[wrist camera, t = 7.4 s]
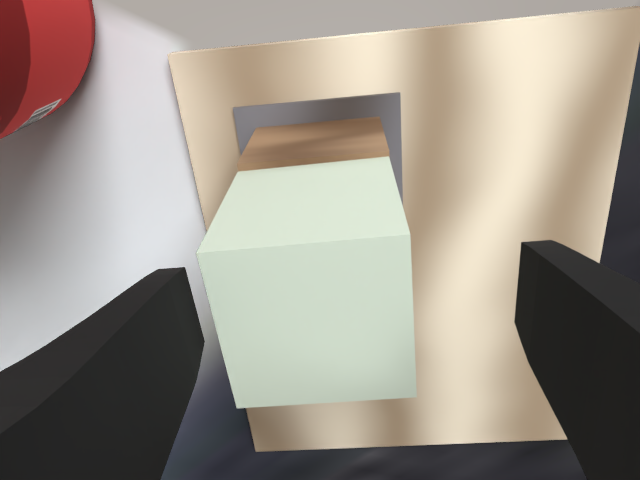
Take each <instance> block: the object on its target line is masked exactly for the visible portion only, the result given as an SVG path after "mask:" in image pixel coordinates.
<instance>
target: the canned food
mask: <svg viewBox="0 0 640 480" xmlns="http://www.w3.org/2000/svg"><path fill="white" fill-rule="evenodd" d="M94 39H95V16H94V10H93V4H92V0H0V139H1V138H3V137H5V136H7V135H9V134H11V133H13V132H15V131H17V130H19V129H21V128H23V127H25V126H27V125H29V124H31V123H33V122H35V121H37V120H39V119H41V118H43V117H45V116H47V115H49V114H51V113H53V112H54V111H55V110H56V109H58V108H59V107H60V106H61V105H62V104H64V103H65V102H66V101H67V100H68V99H69V97H70V96H71V95H72V93H73V92H74V91H75V89H76V88H77V87H78V85H79V83H80V81H81V79H82V77H83V75H84V73H85V71H86V69H87V66H88V64H89V62H90V59H91V54H92V50H93V45H94Z"/></svg>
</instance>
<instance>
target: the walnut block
mask: <svg viewBox="0 0 640 480" xmlns="http://www.w3.org/2000/svg"><path fill="white" fill-rule="evenodd" d="M387 156H389V158H390V155H389V148H388V144H387V141H386V137H385V134H384V130H383V127H382V123H381V120H380V117H368V118H357V119H346V120H335V121H324V122H313V123H302V124H291V125H280V126H269V127H258V128H256V129H255V131H254V133H253V135H252V136H251V138H250V140H249V142H248V144H247V146H246V148H245V149H244V151H243V153H242V155H241V157H240V159H239V161H238V163H237V168H238V172H239V171H249V170H259V169H269V168H279V167H288V166H298V165H308V164H318V163H328V162H338V161H348V160H358V159H367V158H377V157H387Z"/></svg>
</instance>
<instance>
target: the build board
mask: <svg viewBox="0 0 640 480" xmlns="http://www.w3.org/2000/svg"><path fill="white" fill-rule="evenodd" d="M639 42H640V6H632V7H623V8H612V9H603V10H592V11H582V12H573V13H562V14H552V15H543V16H533V17H522V18H512V19H502V20H492V21H482V22H472V23H462V24H452V25H442V26H431V27H422V28H411V29H401V30H392V31H381V32H371V33H361V34H351V35H341V36H331V37H321V38H311V39H302V40H291V41H281V42H271V43H261V44H251V45H241V46H232V47H221V48H212V49H201V50H191V51H181V52H172V53H170V54H168V60H169V64H170V69H171V73H172V78H173V82H174V87H175V91H176V96H177V100H178V105H179V109H180V114H181V118H182V123H183V127H184V132H185V136H186V141H187V145H188V150H189V154H190V159H191V163H192V168H193V172H194V176H195V181H196V185H197V190H198V194H199V199H200V203H201V208H202V212H203V217H204V221H205V226H206V230H207V231H208V229H209V227H210V225H211V223H212V221H213V219H214V217H215V215H216V213H217V211H218V209H219V207H220V205H221V203H222V201H223V199H224V198H225V196H226V194H227V192H228V190H229V188H230V186H231V184H232V182H233V180H234V178H235V176H236V174H237V172H238V168H237V163H238V161H239V159H240V157H241V155H242V153H243V151H244V149H245V148H246V146H247V144H248V142H249V140H250V138H251V136H252V135H253V133H254V131H255V129H256V128H258V127H269V126H280V125H291V124H302V123H313V122H324V121H335V120H346V119H357V118H368V117H380V120H381V123H382V127H383V130H384V134H385V137H386V141H387V144H388V148H389V155H390V162H391V165H392V169H393V173H394V176H395V180H396V184H397V187H398V191H399V195H400V198H401V202H402V206H403V209H404V213H405V216H406V220H407V224H408V227H409V231H410V237H411V262H412V288H413V313H414V338H415V364H416V389H417V397H414V398H398V399H381V400H365V401H349V402H333V403H317V404H301V405H284V406H268V407H252V408H246V410H247V415H248V419H249V424H250V428H251V433H252V437H253V442H254V446H255V450H256V452H262V451H287V450H312V449H337V448H362V447H387V446H412V445H437V444H462V443H487V442H512V441H537V440H562V439H567V437H566V435H565V433H564V431H563V429H562V427H561V425H560V423H559V421H558V420H557V418H556V416H555V414H554V412H553V410H552V408H551V406H550V404H549V402H548V400H547V398H546V396H545V395H544V393H543V391H542V389H541V387H540V385H539V383H538V381H537V379H536V377H535V375H534V373H533V371H532V369H531V367H530V365H529V363H528V360H527V358H526V355H525V352H524V349H523V347H522V344H521V341H520V338H519V335H518V332H517V329H516V326H515V323H514V320H515V308H516V297H517V285H518V274H519V262H520V251H521V242H529V241H542V240H553V241H556V242H558V243H561V244H563V245H565V246H567V247H569V248H571V249H573V250H575V251H577V252H579V253H581V254H583V255H585V256H587V257H588V258H590V259H592V260H594V261H596V262H598V263H599V262H600V257H601V251H602V246H603V240H604V235H605V229H606V224H607V218H608V213H609V207H610V202H611V196H612V191H613V185H614V180H615V174H616V169H617V163H618V158H619V152H620V147H621V141H622V136H623V130H624V125H625V119H626V114H627V108H628V103H629V97H630V92H631V86H632V81H633V75H634V70H635V64H636V59H637V53H638V48H639Z"/></svg>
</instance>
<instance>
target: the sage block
mask: <svg viewBox="0 0 640 480" xmlns="http://www.w3.org/2000/svg"><path fill="white" fill-rule="evenodd" d="M196 255H197V259H198V262H199V266H200V270H201V274H202V278H203V281H204V285H205V289H206V293H207V297H208V301H209V304H210V308H211V312H212V316H213V320H214V323H215V327H216V331H217V335H218V339H219V342H220V346H221V350H222V354H223V358H224V362H225V365H226V369H227V373H228V377H229V381H230V384H231V388H232V392H233V396H234V400H235V404H236V407H237V408H252V407H268V406H284V405H301V404H317V403H333V402H349V401H365V400H381V399H398V398H414V397H417V389H416V364H415V338H414V313H413V288H412V262H411V237H410V231H409V227H408V224H407V220H406V216H405V213H404V209H403V206H402V202H401V198H400V195H399V191H398V187H397V184H396V180H395V176H394V173H393V169H392V165H391V162H390V158H389V156H387V157H377V158H367V159H358V160H348V161H338V162H328V163H318V164H308V165H298V166H288V167H279V168H269V169H259V170H249V171H239V172H237V174H236V176H235V178H234V180H233V182H232V184H231V186H230V188H229V190H228V192H227V194H226V196H225V198H224V199H223V201H222V203H221V205H220V207H219V209H218V211H217V213H216V215H215V217H214V219H213V221H212V223H211V225H210V227H209V229H208V231H207V233H206V235H205V237H204V239H203V241H202V243H201V245H200V247H199V249H198V250H197V252H196Z"/></svg>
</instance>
